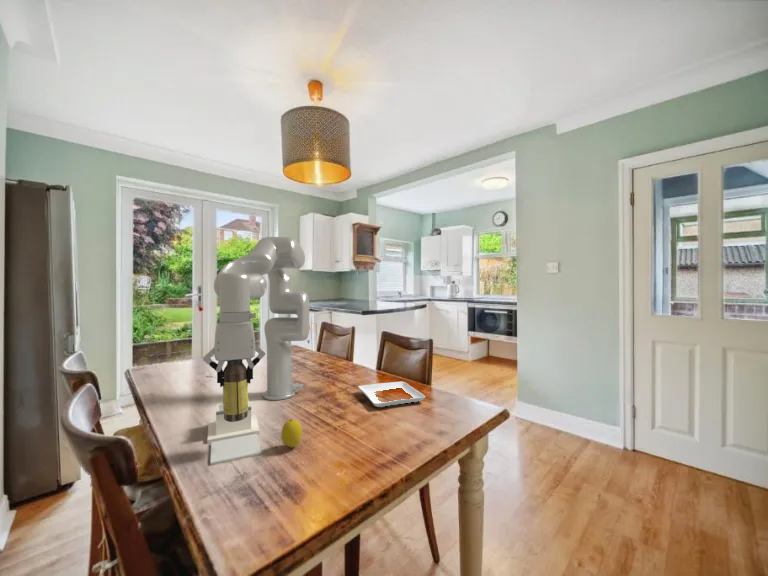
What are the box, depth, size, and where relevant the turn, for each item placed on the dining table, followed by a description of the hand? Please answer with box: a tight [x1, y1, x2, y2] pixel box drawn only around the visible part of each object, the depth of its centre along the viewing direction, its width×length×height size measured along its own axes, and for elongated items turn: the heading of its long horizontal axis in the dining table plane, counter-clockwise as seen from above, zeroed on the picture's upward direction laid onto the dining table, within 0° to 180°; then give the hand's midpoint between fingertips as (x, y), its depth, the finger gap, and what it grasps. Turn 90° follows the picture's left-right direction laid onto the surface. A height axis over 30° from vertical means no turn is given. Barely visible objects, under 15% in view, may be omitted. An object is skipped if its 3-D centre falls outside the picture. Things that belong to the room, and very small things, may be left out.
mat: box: [209, 434, 262, 466], centre depth 91 cm, size 12×12×1 cm
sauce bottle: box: [222, 360, 249, 422], centre depth 90 cm, size 6×6×20 cm
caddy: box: [206, 399, 261, 444], centre depth 103 cm, size 14×14×8 cm
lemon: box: [281, 418, 303, 449], centre depth 91 cm, size 6×6×8 cm
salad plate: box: [357, 381, 426, 408], centre depth 131 cm, size 21×21×3 cm
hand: (235, 383), depth 90 cm, fingers closed on sauce bottle, 6 cm apart
